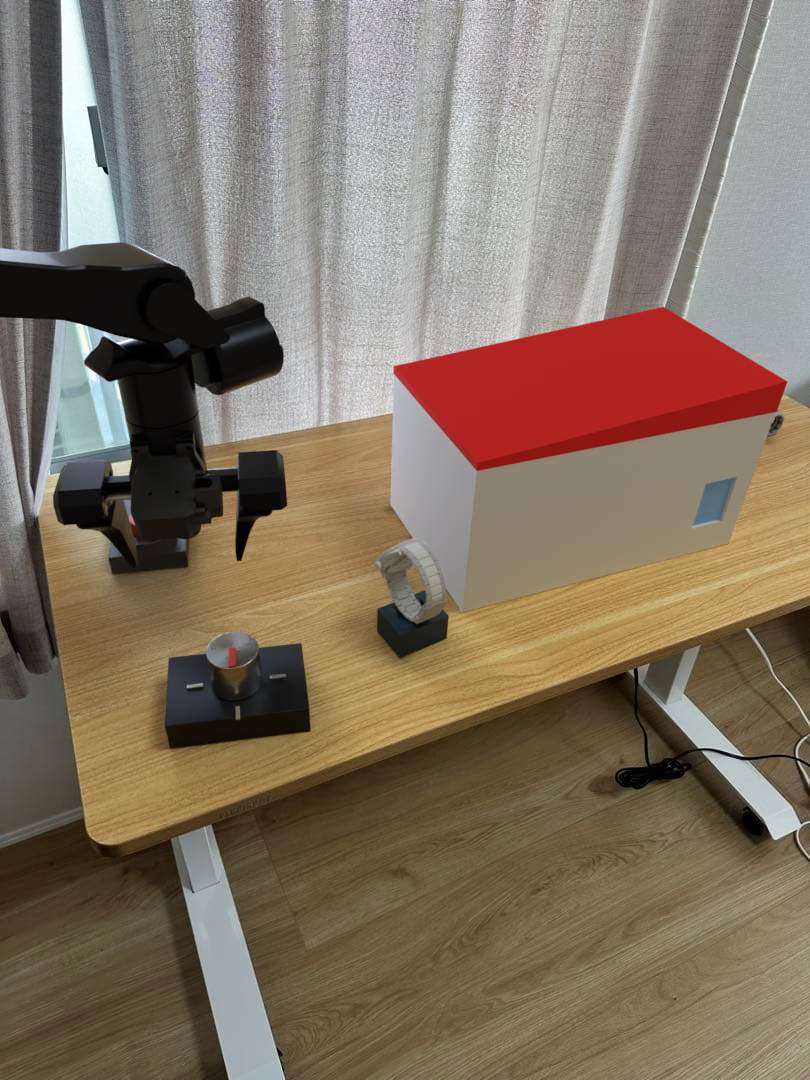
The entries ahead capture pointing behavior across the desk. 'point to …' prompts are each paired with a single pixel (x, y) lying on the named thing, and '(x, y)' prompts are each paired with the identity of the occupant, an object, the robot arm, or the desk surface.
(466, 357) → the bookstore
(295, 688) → the lock panel
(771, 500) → the desk surface
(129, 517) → the bell button
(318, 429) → the desk surface
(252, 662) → the lock knob
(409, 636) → the watch
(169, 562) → the dark grey button base
